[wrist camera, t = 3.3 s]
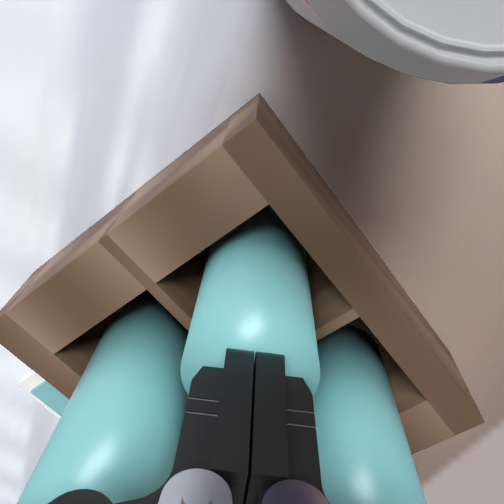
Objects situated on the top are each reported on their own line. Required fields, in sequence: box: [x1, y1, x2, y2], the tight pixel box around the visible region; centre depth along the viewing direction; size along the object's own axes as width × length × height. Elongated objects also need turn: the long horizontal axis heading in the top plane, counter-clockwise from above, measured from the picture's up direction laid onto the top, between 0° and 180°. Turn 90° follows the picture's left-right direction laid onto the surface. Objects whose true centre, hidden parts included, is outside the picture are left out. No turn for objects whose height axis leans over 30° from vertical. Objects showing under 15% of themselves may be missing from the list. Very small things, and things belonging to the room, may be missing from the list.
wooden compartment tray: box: [0, 93, 484, 455], centre depth 19 cm, size 12×14×4 cm
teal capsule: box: [180, 205, 320, 397], centre depth 16 cm, size 4×4×8 cm
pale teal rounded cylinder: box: [17, 300, 189, 504], centre depth 15 cm, size 4×4×8 cm
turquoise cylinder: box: [313, 325, 426, 504], centre depth 15 cm, size 4×4×8 cm
